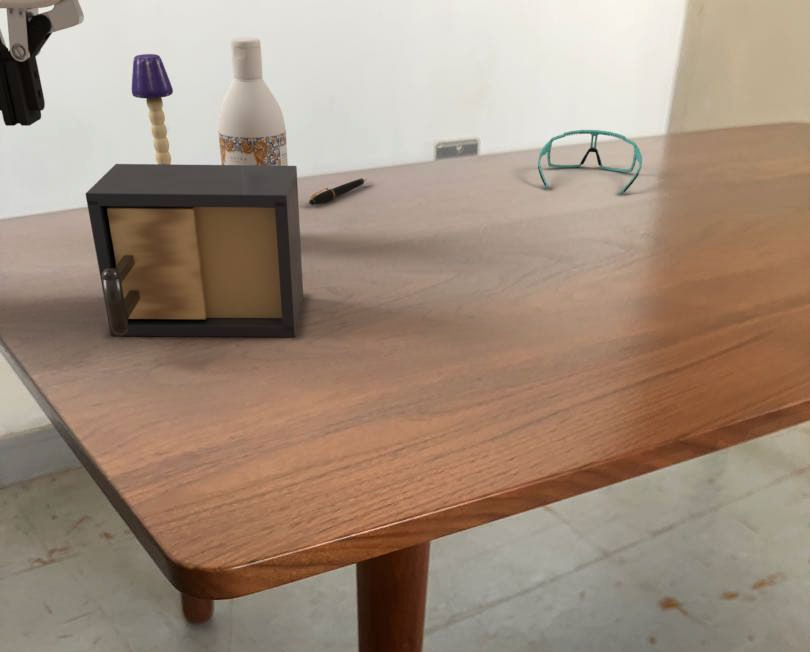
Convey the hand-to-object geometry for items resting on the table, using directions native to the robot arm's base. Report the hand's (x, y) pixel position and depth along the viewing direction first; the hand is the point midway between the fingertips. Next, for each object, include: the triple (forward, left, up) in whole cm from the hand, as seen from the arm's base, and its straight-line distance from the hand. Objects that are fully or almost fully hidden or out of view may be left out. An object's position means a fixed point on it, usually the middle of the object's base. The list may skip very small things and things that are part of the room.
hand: (23, 121), depth 65 cm
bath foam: (+12, +32, -18) cm, 39 cm away
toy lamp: (-1, +46, -18) cm, 50 cm away
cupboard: (+10, +10, -18) cm, 23 cm away
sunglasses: (+54, +62, -18) cm, 84 cm away
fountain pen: (+20, +52, -19) cm, 59 cm away
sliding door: (+7, +3, -17) cm, 18 cm away
